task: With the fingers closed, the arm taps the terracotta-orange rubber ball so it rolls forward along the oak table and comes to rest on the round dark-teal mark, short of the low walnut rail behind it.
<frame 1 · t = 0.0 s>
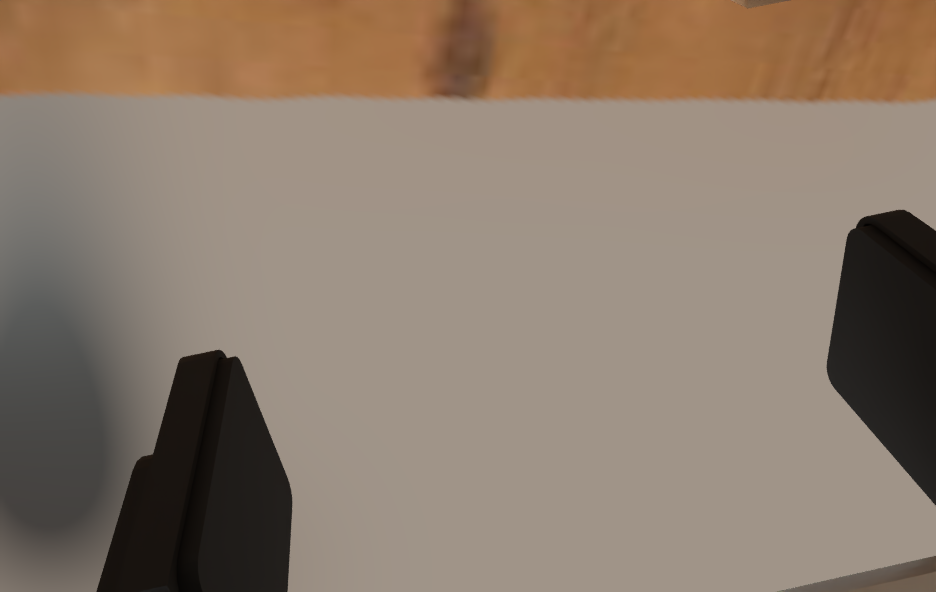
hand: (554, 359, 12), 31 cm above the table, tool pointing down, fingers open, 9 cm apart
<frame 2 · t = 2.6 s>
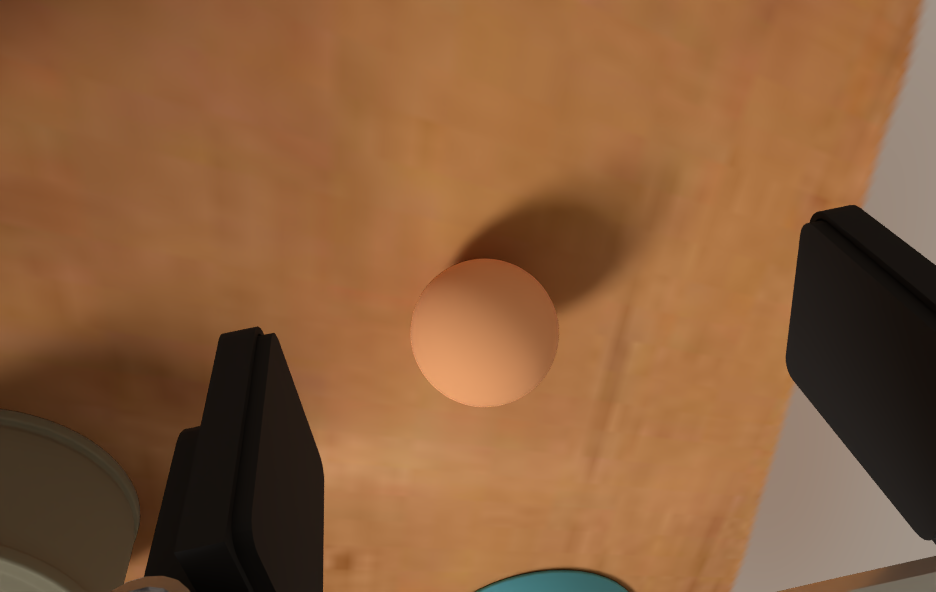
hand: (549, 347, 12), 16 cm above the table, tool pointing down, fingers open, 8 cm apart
ball: (484, 332, 28), on the table
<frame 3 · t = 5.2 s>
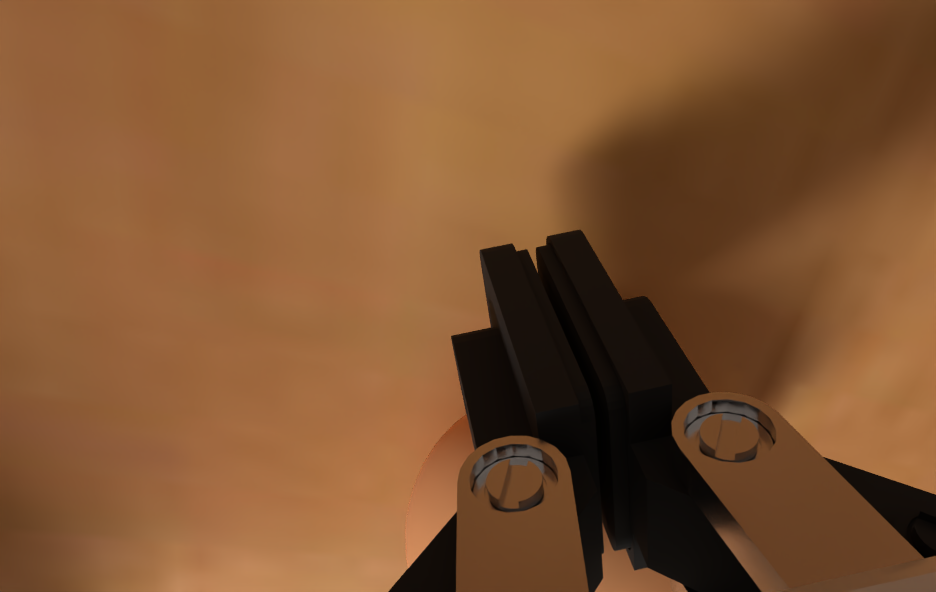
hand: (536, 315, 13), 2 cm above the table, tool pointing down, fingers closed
ball: (551, 534, 14), on the table
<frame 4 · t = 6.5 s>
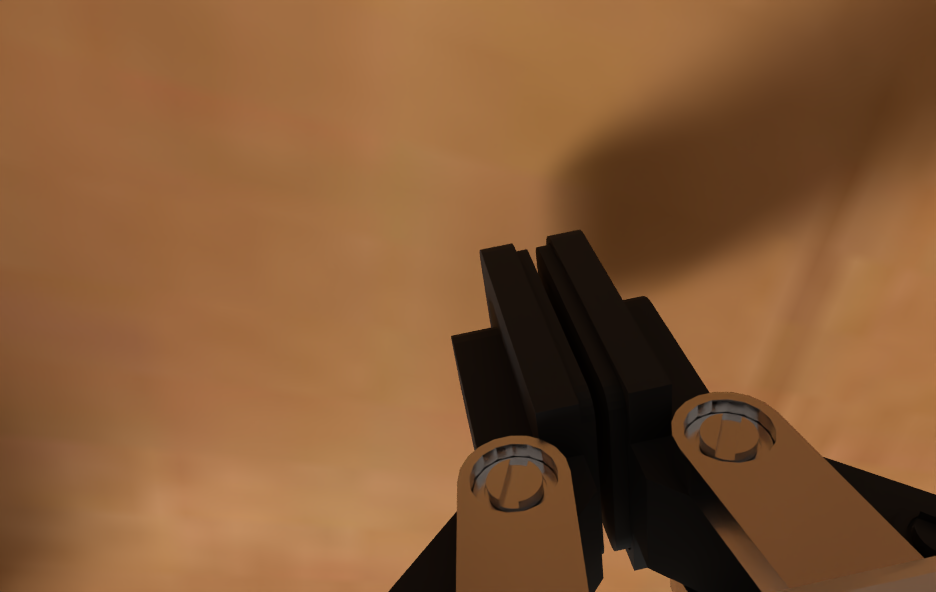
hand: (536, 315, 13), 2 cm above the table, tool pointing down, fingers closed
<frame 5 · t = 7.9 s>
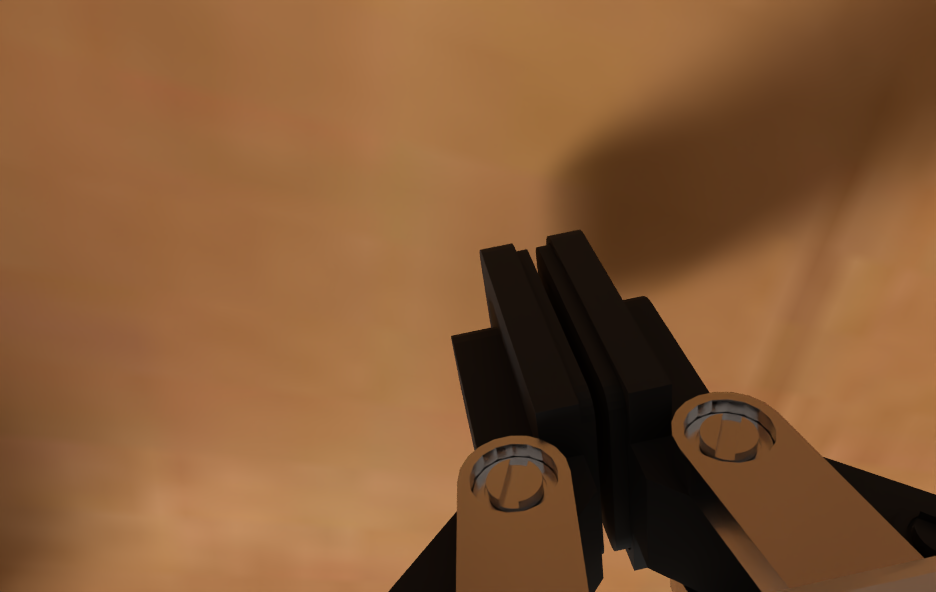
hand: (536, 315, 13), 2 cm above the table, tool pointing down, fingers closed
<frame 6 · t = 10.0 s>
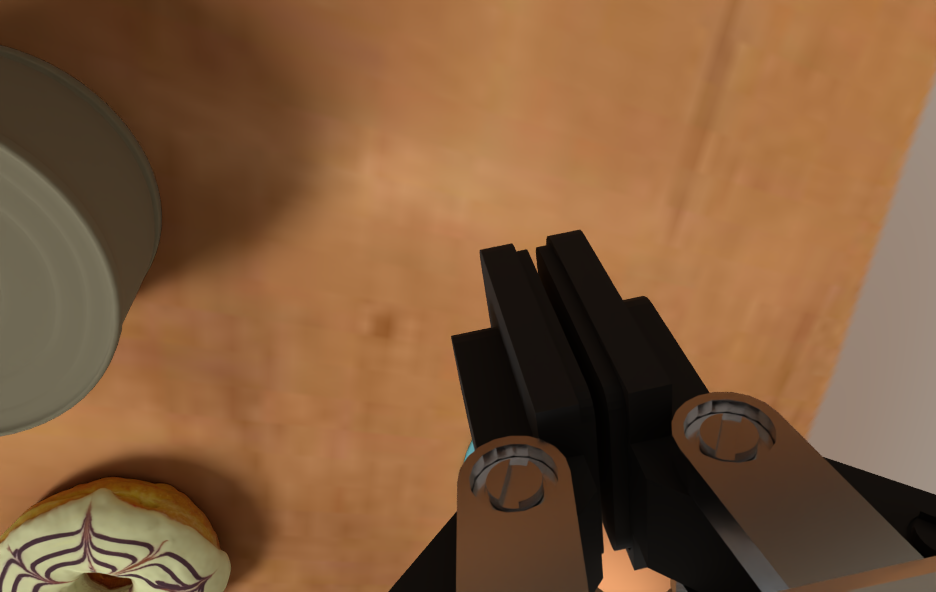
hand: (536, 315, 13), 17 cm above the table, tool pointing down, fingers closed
decorated donut: (124, 538, 39), on the table
ball: (631, 543, 38), on the table
can: (2, 194, 28), on the table
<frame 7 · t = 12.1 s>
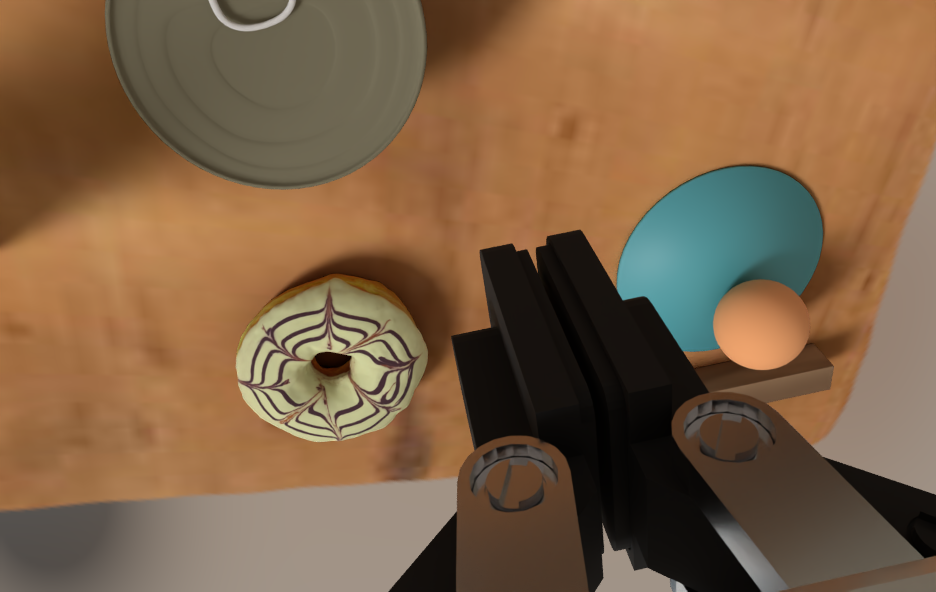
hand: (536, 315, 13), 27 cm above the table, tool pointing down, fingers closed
decorated donut: (333, 339, 46), on the table
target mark: (719, 264, 46), on the table
ball: (760, 324, 46), on the table
can: (282, 7, 35), on the table
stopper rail: (713, 375, 51), on the table
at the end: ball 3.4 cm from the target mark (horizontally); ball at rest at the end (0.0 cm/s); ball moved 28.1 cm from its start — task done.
